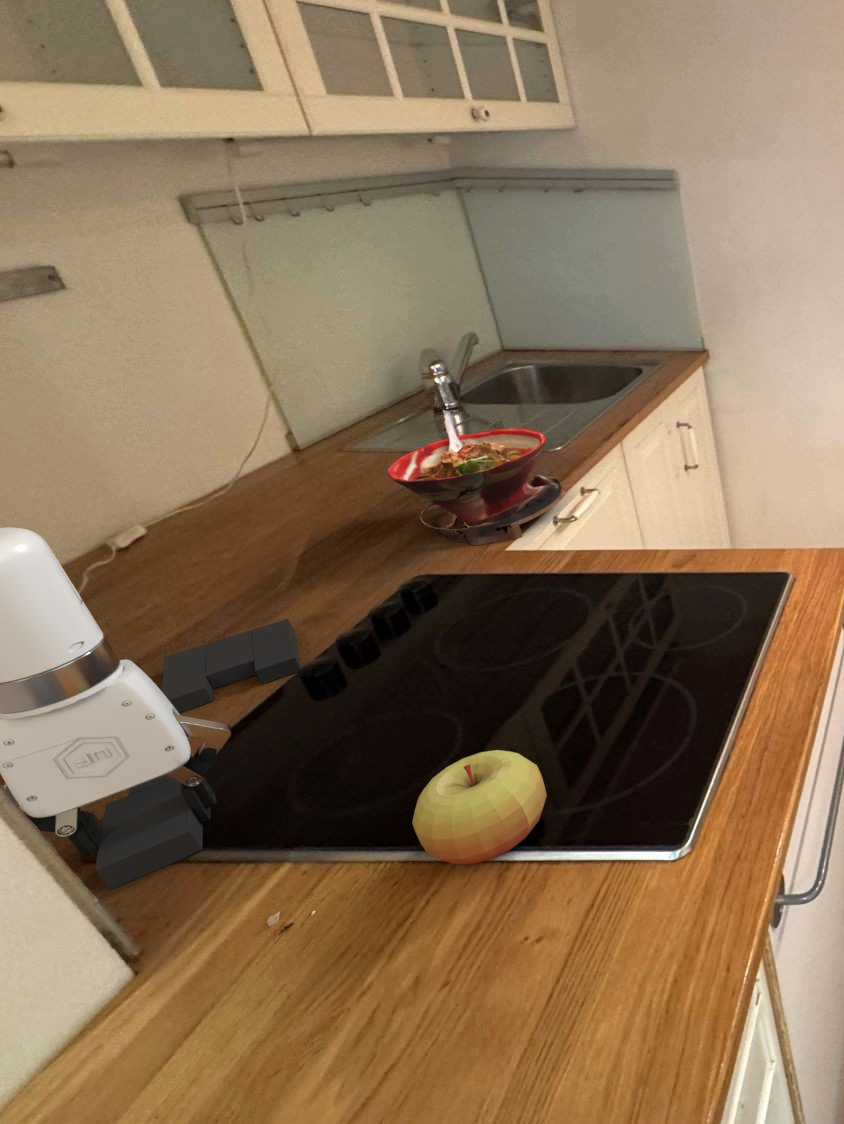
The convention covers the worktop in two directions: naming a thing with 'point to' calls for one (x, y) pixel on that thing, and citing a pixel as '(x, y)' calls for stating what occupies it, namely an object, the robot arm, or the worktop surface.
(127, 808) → the dark grey beveled block
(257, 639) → the base pad
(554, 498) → the stew
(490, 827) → the apple
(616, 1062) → the worktop surface
